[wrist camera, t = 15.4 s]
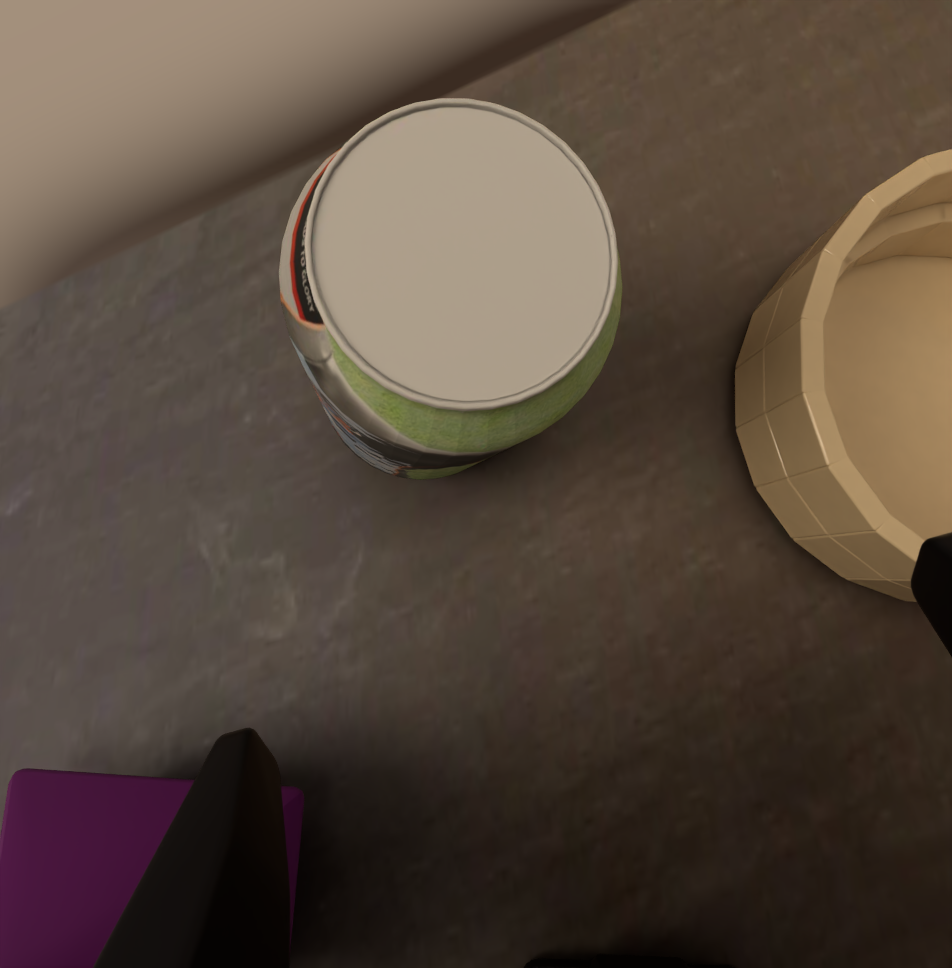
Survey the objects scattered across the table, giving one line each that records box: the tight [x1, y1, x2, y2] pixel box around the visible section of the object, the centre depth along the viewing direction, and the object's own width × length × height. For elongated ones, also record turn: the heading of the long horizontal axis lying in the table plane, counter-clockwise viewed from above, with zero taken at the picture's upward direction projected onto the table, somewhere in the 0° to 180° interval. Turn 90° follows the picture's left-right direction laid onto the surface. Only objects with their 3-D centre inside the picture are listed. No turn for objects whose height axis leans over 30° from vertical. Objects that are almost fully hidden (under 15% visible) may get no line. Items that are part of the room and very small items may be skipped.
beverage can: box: [279, 98, 622, 479], centre depth 16 cm, size 6×7×12 cm
